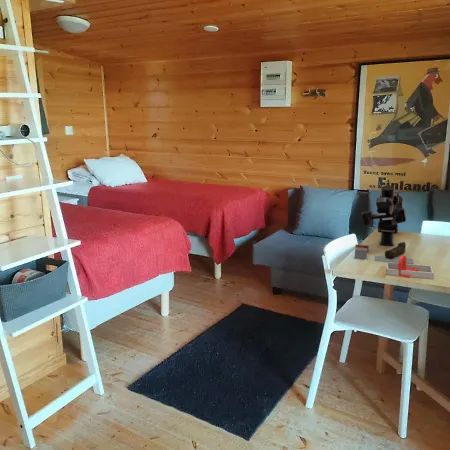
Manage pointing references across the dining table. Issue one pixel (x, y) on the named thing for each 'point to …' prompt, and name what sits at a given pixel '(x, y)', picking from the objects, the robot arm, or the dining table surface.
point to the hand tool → (395, 250)
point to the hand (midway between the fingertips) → (381, 225)
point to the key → (362, 246)
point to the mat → (395, 259)
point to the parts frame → (411, 273)
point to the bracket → (404, 266)
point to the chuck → (360, 253)
